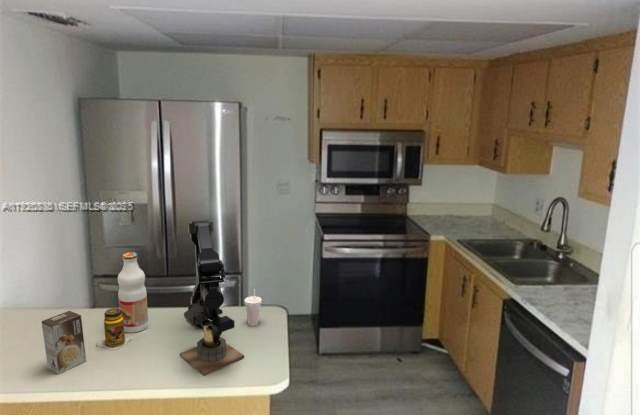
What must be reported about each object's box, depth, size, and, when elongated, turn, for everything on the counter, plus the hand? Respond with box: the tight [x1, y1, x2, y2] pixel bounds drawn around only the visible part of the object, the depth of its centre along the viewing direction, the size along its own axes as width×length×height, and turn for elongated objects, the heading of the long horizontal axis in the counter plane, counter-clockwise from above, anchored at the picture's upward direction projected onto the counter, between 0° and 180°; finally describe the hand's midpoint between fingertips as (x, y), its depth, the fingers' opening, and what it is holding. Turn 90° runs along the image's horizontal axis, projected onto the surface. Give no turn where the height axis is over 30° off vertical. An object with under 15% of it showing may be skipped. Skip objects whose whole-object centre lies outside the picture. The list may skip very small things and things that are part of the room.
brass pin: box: [203, 322, 218, 348], centre depth 154 cm, size 4×4×9 cm
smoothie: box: [244, 288, 263, 327], centre depth 177 cm, size 6×6×14 cm
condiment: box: [96, 307, 131, 351], centre depth 161 cm, size 7×8×12 cm
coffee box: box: [41, 310, 87, 375], centre depth 147 cm, size 9×6×16 cm
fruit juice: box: [117, 251, 149, 334], centre depth 171 cm, size 9×9×28 cm
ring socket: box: [179, 336, 245, 376], centre depth 155 cm, size 15×15×5 cm
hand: (211, 340), depth 154 cm, fingers closed on brass pin, 4 cm apart
